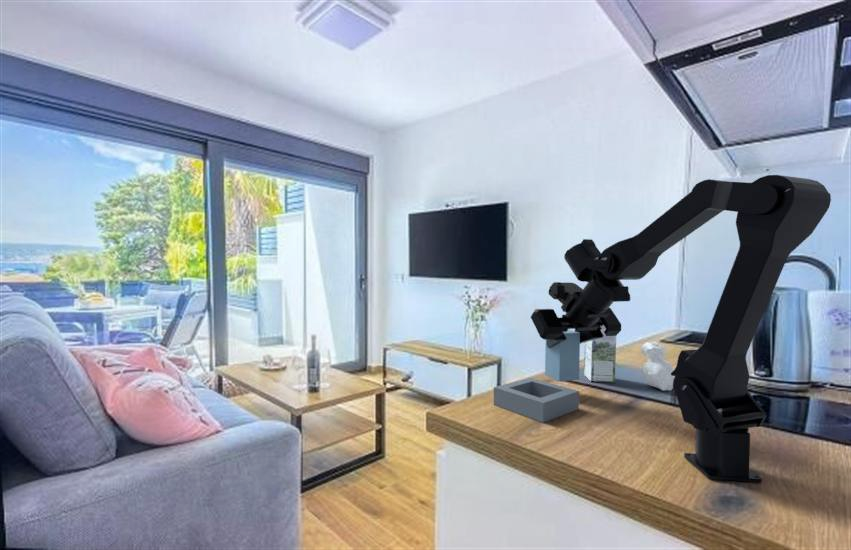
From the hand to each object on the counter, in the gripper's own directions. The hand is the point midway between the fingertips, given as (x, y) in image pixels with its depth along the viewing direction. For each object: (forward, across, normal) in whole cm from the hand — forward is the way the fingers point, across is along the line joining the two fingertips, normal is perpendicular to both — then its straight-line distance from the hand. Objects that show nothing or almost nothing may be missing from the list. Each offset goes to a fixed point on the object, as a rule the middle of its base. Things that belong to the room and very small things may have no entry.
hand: (558, 345), depth 88 cm
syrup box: (+11, -16, +3) cm, 20 cm away
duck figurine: (+5, -26, +10) cm, 28 cm away
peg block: (+4, 0, +6) cm, 7 cm away
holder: (+2, +10, +12) cm, 16 cm away
